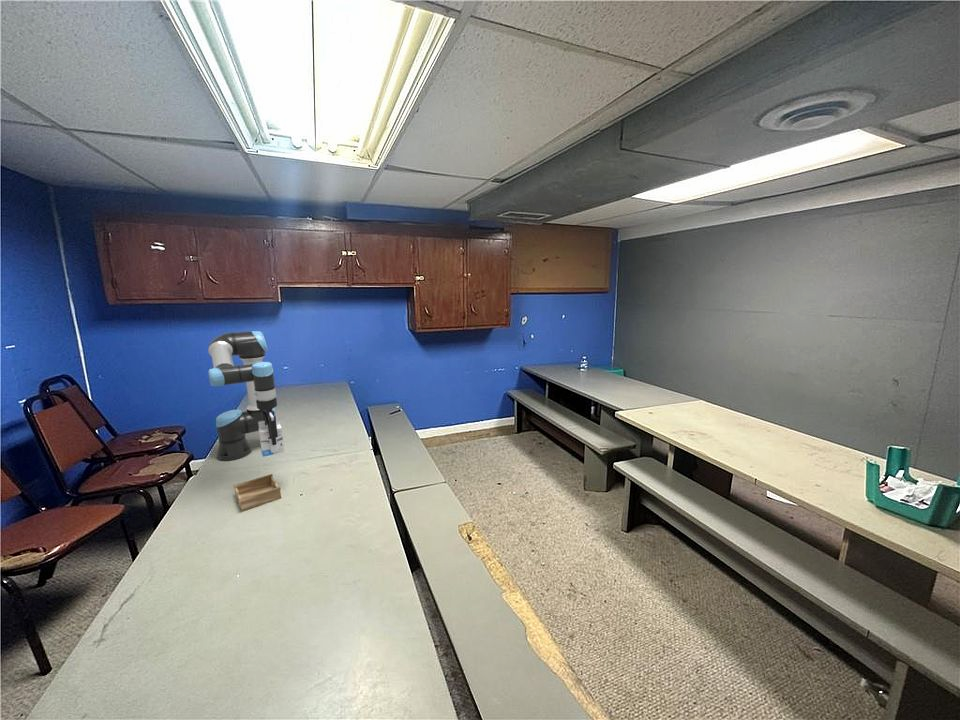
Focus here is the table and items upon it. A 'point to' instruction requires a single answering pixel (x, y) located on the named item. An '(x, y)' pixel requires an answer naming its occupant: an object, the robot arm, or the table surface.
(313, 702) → the table surface
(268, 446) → the ink box
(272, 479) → the crate
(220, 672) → the table surface
